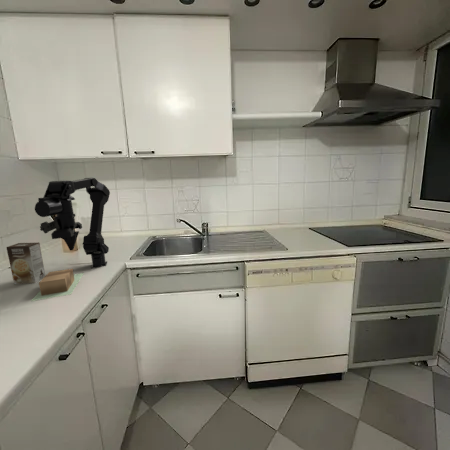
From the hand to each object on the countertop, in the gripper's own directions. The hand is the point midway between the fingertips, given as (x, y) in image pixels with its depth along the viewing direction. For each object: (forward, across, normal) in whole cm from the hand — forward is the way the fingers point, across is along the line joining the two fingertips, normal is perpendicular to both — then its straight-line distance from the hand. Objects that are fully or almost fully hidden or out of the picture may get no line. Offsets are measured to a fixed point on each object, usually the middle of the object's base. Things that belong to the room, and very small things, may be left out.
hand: (71, 250), depth 97 cm
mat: (+13, +6, -4) cm, 14 cm away
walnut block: (+10, +2, -4) cm, 11 cm away
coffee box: (+13, -6, -18) cm, 23 cm away
